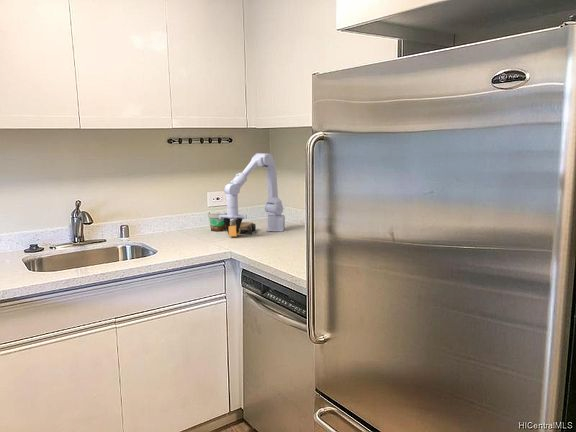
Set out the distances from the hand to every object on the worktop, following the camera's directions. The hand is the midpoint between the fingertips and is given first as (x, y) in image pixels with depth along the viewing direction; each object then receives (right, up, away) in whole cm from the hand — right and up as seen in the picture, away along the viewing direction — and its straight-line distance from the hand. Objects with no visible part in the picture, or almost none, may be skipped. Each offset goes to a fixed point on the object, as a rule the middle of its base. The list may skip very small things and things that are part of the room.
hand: (233, 232), depth 241 cm
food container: (-11, 0, +18) cm, 21 cm away
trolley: (+3, 0, +14) cm, 14 cm away
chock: (0, -1, +2) cm, 3 cm away
